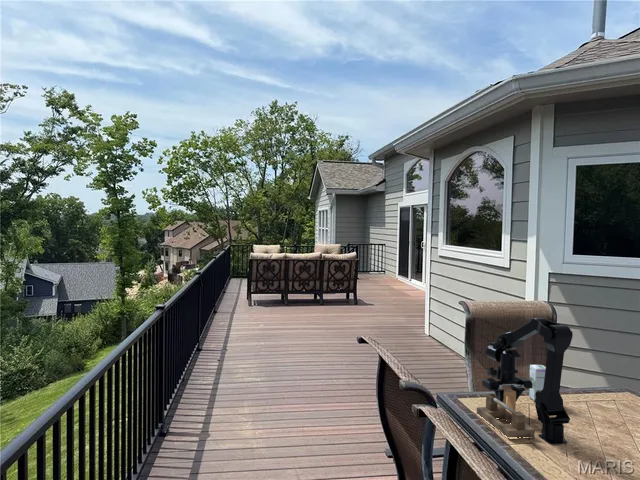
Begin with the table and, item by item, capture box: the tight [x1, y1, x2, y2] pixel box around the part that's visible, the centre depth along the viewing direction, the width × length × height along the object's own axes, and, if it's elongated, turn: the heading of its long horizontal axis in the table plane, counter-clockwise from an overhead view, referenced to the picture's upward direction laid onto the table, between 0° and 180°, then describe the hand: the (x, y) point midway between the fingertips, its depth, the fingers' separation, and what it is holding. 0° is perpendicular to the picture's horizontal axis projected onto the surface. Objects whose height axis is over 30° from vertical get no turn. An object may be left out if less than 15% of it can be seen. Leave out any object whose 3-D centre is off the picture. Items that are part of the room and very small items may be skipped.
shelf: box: [476, 394, 536, 438], centre depth 158 cm, size 20×10×8 cm, turn 11°
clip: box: [498, 387, 517, 412], centre depth 170 cm, size 4×5×8 cm
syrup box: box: [528, 364, 546, 402], centre depth 184 cm, size 6×6×14 cm
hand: (506, 404), depth 170 cm, fingers closed on clip, 5 cm apart
